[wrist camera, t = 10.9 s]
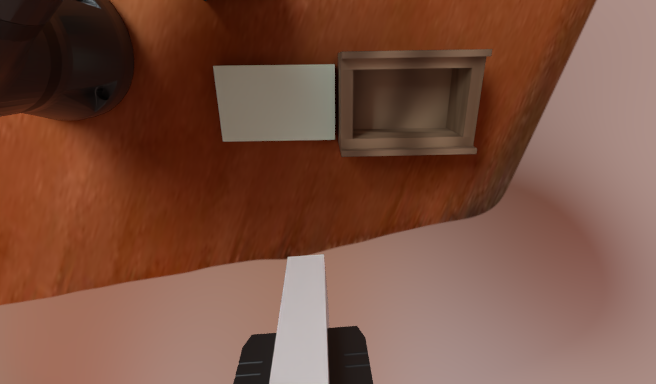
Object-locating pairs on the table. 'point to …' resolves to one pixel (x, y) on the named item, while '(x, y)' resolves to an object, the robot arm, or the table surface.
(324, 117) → the lid
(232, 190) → the table surface
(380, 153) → the box
